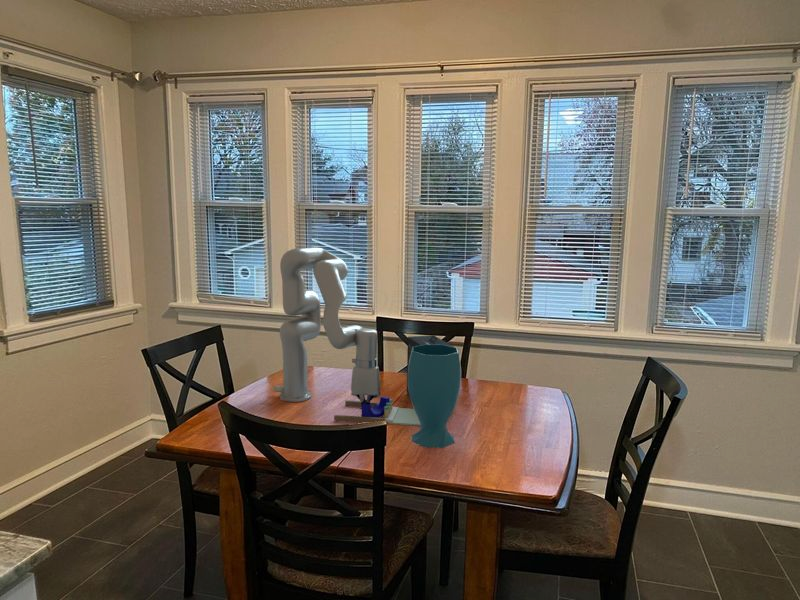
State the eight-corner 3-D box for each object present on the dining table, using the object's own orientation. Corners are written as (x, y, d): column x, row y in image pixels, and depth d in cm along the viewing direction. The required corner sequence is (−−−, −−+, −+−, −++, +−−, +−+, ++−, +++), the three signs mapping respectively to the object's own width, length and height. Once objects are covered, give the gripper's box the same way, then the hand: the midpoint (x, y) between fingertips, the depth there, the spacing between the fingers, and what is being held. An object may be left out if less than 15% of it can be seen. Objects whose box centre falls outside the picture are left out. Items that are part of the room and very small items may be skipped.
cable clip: (379, 410, 207) (379, 395, 206) (388, 413, 204) (389, 397, 203) (358, 419, 197) (358, 403, 196) (367, 422, 195) (368, 406, 194)
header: (334, 421, 195) (334, 408, 195) (346, 405, 212) (346, 393, 211) (426, 427, 191) (426, 414, 190) (430, 410, 207) (431, 398, 206)
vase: (407, 428, 190) (408, 343, 185) (457, 429, 189) (460, 344, 185) (406, 449, 173) (407, 355, 168) (461, 450, 172) (464, 356, 168)
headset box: (455, 408, 210) (457, 342, 206) (425, 411, 206) (427, 344, 202) (432, 390, 231) (433, 330, 227) (405, 393, 227) (406, 331, 223)
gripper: (343, 364, 197) (343, 413, 200) (384, 367, 195) (383, 416, 197) (348, 358, 204) (348, 406, 207) (388, 361, 202) (387, 409, 205)
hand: (365, 411), depth 202 cm, fingers closed
